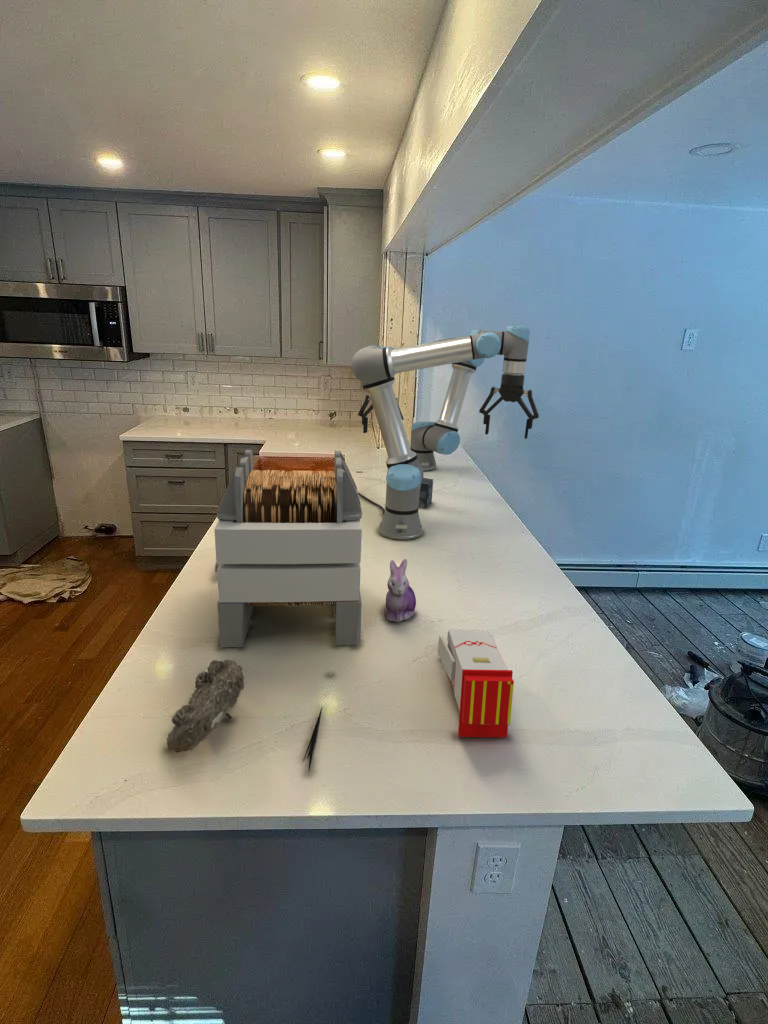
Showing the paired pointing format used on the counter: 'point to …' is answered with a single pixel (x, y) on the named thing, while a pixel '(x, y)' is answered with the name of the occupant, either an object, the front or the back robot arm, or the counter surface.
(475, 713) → the toy
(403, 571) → the figurine
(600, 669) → the counter surface
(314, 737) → the feather
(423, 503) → the box
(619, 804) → the counter surface
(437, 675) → the counter surface
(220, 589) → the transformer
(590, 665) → the counter surface
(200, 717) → the fossil
